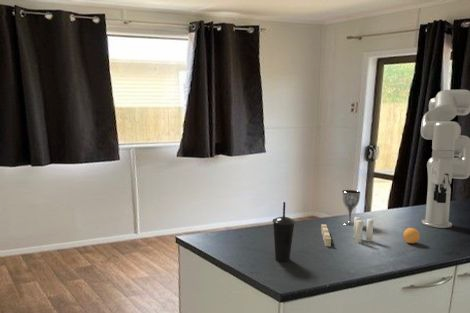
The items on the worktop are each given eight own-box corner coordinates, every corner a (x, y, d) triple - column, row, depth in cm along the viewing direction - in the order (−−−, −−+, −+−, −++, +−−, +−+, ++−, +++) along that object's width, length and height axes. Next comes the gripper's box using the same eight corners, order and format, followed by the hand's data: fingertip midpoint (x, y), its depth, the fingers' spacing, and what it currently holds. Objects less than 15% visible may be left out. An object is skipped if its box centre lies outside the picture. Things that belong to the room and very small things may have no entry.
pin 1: (352, 237, 171) (354, 216, 170) (358, 237, 170) (360, 217, 169) (353, 239, 168) (354, 218, 167) (359, 239, 168) (361, 218, 167)
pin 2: (354, 241, 166) (355, 220, 165) (361, 241, 165) (362, 220, 164) (355, 242, 163) (356, 221, 162) (362, 243, 163) (363, 222, 162)
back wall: (321, 231, 178) (321, 224, 178) (325, 231, 178) (326, 224, 178) (325, 246, 158) (325, 238, 158) (330, 246, 158) (331, 238, 158)
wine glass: (344, 220, 197) (345, 189, 195) (361, 223, 192) (362, 191, 191) (337, 223, 190) (339, 191, 189) (354, 227, 186) (356, 193, 184)
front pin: (365, 239, 168) (366, 219, 167) (371, 240, 167) (372, 219, 166) (366, 241, 165) (367, 220, 164) (372, 241, 165) (373, 220, 164)
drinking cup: (296, 257, 146) (298, 201, 143) (289, 264, 139) (291, 205, 136) (275, 254, 149) (277, 199, 146) (268, 260, 142) (269, 203, 140)
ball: (400, 240, 168) (401, 225, 167) (416, 241, 167) (417, 226, 166) (405, 245, 162) (406, 230, 161) (421, 246, 161) (422, 230, 160)
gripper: (425, 152, 168) (422, 197, 170) (440, 156, 152) (436, 206, 154) (445, 152, 167) (441, 197, 169) (462, 157, 151) (458, 207, 153)
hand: (439, 201), depth 161 cm, fingers open, 2 cm apart
